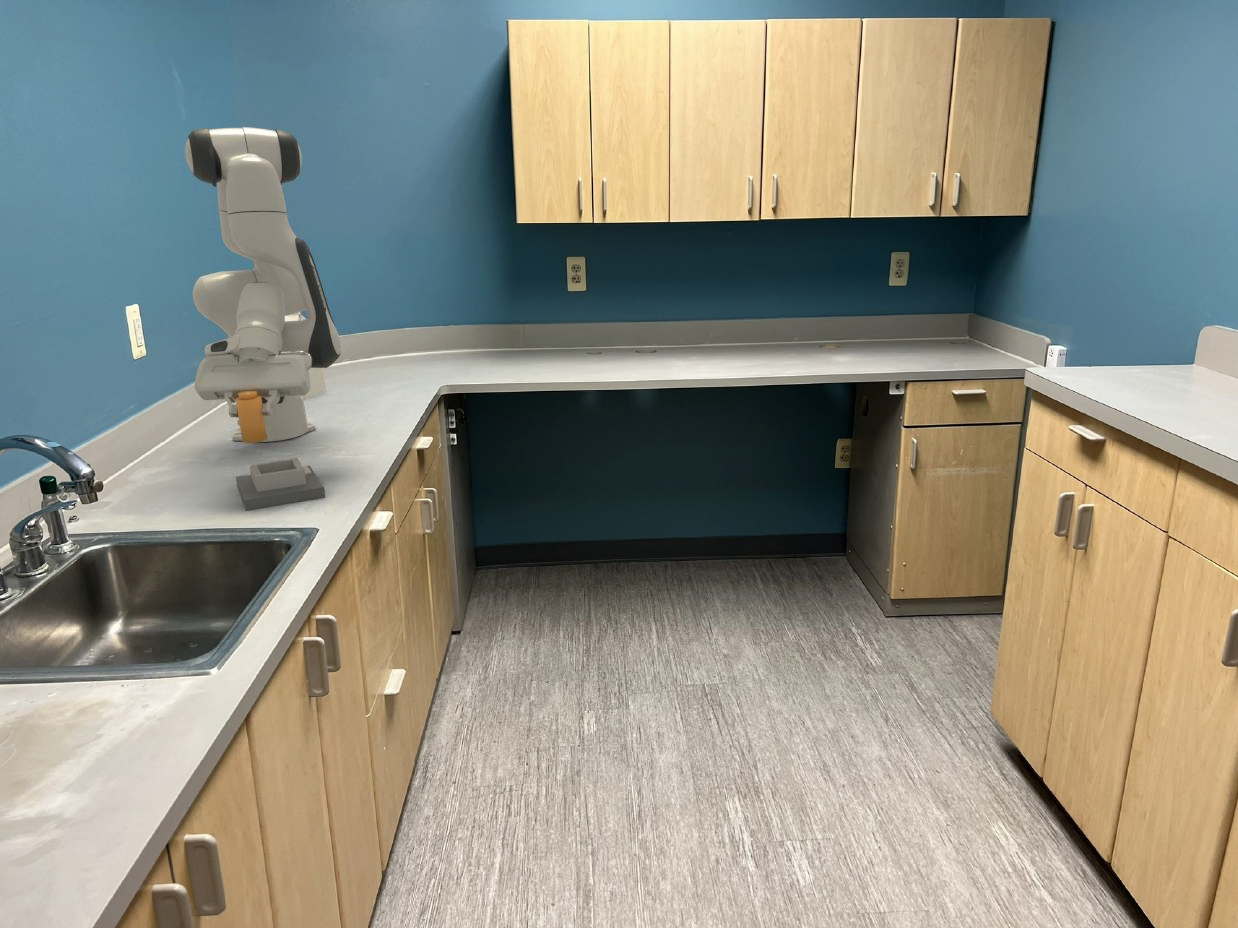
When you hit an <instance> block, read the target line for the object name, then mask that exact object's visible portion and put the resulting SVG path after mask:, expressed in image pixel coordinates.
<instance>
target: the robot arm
mask: <svg viewBox="0 0 1238 928" xmlns="http://www.w3.org/2000/svg"><path fill="white" fill-rule="evenodd" d="M184 147H185V148H184V155H185V160H186V163H187V166H188V167H189V169H190V172H192V175H193V177H195V178H196V179H198V180H199V181H200V182H203V183H206V184H210V185H212V186H213V187H215V188H216V187H217V191H216V192H217V205H218V215H219V222H220V232H221V238H222V242H223V244H224V245H225V247H226V248H227V249H229V251H231V252H233V254H234V253H235V254H237V255H239V256H241V257H244V258H247V259H249V260H251V261H252V262H253V265H254V268H252V269H244V270H242V269H239V270H227V271H226V270H225V271H218V272H214V273H209V274H206V275H202V276H200V277H199V278H197V280H196V282H195V284H194V286H193V289H192V300H193V304H194V305H195V308H196V309H197V311H198V312H199V313H200V314H201V315H202V316H203V317H204V318H205V319H207V320H209V321H211V322H212V323H214V324H215V325H217V326H218V327H220V328H221V330H223V332H224V333H225V334H227V338H225V339H221V340H218V341H214V342H212V343H209V344H207V345H206V346H204V353H205V356H206V357H204V358H203V359H201V361H200V363H199V365H198V368H197V371H196V375H195V381H194V390H195V393H196V394H197V395H198V396H199V397H200V398H201V399H202V400H203V401H216V400H217V401H218V400H225V401H226V403H227V404H228V415H229V416H230V418H237V419H238V420H237V426H236V427H235V430H234V432H233V433H232V434H233V435H232V441H235V442H236V441H237V442H238V441H242V436H241V429H240V423H239V417H238V411H237V405H236V404H235V403H236V398H238V397H239V395H238V393H240V392H244V391H257V395H259V396H261V399H262V409H261V412H262V414H263V416H264V418H265V424H266V431H267V437H268V439H267V440H264V441H261V442H260V443H264V442H265V443H266V442H267V443H268V442H276V441H277V442H279V441H285V440H289V439H293V438H297V437H301V436H302V435H304V434H306V433H308V432H312V431H315V430H316V429H317V428H316V425H315V424H313V423H311V422H310V421H308V418H307V413H306V412H307V411H306V406H305V400H303V397H301V396H302V395H306V394H307V393H308V392H309V391H310V376H309V369H310V368H322V369H328V368H329V367H331V366H332V365H333V364H334V363H335V362H336V361H337V360H338V359H339V357H340V356H341V353H342V344H341V338H340V335H339V332H338V330H337V327H336V325H335V323H334V320H333V317H332V315H331V311H330V309H329V304H328V301H327V298H326V295H325V292H324V288H323V285H322V282H321V278H320V275H319V271H318V269H317V265H316V263H315V260H314V258H313V254H312V252H311V250H310V247H309V245H308V244H307V242H306V241H305V240H304V239H302V238H300V237H297V235H296V234H295V232H294V231H293V228H291V225H290V223H289V218H288V213H287V207H286V206H287V205H286V199H285V196H284V192H283V187H282V185H283V184H287V183H290V182H293V181H295V180H296V179H297V178H298V177H299V176H300V173H301V168H302V166H303V154H302V151H301V148H300V145H299V144H298V141H297V139H296V137H295V135H293V134H292V133H291V132H288V131H285V130H282V129H276V128H275V129H274V130H271V129H266V128H259V127H249V126H248V127H247V126H241V127H224V128H223V127H222V128H212V129H209V128H207V127H205V128H202V127H201V128H198V129H194V130H192V131H191V132H190V133H189V134H188V135H187V139H186V142H185V146H184ZM304 311H305V312H306V316H307V318H305V319H306V320H300V321H285V316H288V315H292V314H295V313H299V312H300V313H301V312H304ZM242 442H243V441H242Z"/></svg>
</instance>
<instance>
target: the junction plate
mask: <svg viewBox="0 0 1238 928" xmlns="http://www.w3.org/2000/svg"><path fill="white" fill-rule="evenodd" d="M249 469H250V474H246V475H239V476H235V481H236V486H237V489H238V493H239V495H240V498H241V500H242V503H243V505H244V508H245V511H250V510H251V509H252V510H257V509H261V507H264V508H269V507H274V506H280V504H281V505H286V504H287V505H288V504H291V503H298V501H299V502H304V501H305V502H306V501H310V500H314V499H315V500H317V499H322V498H326V491H325V485H324V484H323V483H322V482H321V481H320V478H319V477H318V476H317V475H316V472H315V471H314V470H313V469H312V467H311V466H310V465H303V464H302V463H301V462H300V460H299V458H298V457H293V458H288V459H287V458H286V459H281V460H274V461H267V462H260V463H259V462H258V463H253V464H249Z"/></svg>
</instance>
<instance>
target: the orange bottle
mask: <svg viewBox="0 0 1238 928" xmlns="http://www.w3.org/2000/svg"><path fill="white" fill-rule="evenodd" d="M238 395H239V397H238V398H236V401H235V403H236V404H235V405H237V411H238V417H239V418H238V420H239V423H240V429H241V436H242V443H246V444H253V443H262V442H261V441H264V440H267V439H268V437H267V431H266V424H265V418H264V416H263V414H262V412H261V409H262V399H261V396H259V395H257V391H244V392H240V393H238Z"/></svg>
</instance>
